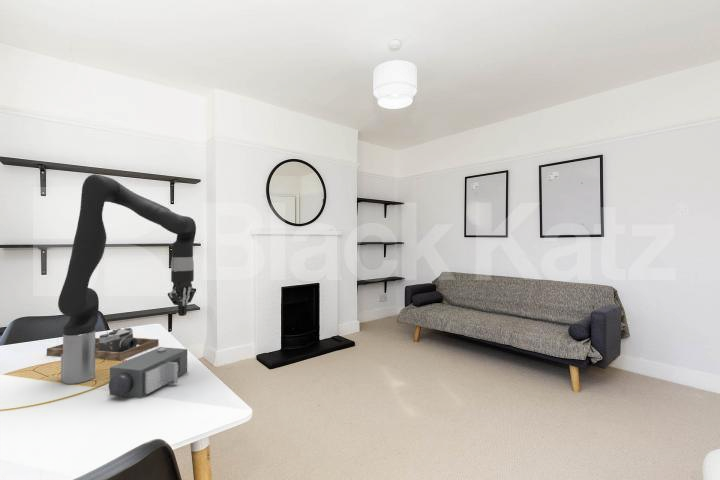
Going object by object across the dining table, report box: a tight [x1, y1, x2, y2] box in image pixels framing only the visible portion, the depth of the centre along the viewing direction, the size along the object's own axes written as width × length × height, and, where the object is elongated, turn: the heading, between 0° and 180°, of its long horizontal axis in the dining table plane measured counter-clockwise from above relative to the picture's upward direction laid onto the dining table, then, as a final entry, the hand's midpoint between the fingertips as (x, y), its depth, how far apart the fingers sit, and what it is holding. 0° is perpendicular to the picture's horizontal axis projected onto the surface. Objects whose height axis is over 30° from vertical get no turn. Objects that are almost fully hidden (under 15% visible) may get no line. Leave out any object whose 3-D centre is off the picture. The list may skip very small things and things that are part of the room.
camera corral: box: [95, 337, 160, 361], centre depth 159 cm, size 15×21×3 cm
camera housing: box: [108, 346, 188, 399], centre depth 123 cm, size 12×25×10 cm, turn 168°
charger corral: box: [46, 337, 99, 358], centre depth 160 cm, size 15×18×3 cm
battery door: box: [144, 362, 179, 395], centre depth 118 cm, size 4×10×7 cm, turn 168°
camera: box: [98, 327, 138, 353], centre depth 158 cm, size 16×10×10 cm, turn 169°
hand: (182, 315), depth 130 cm, fingers closed
